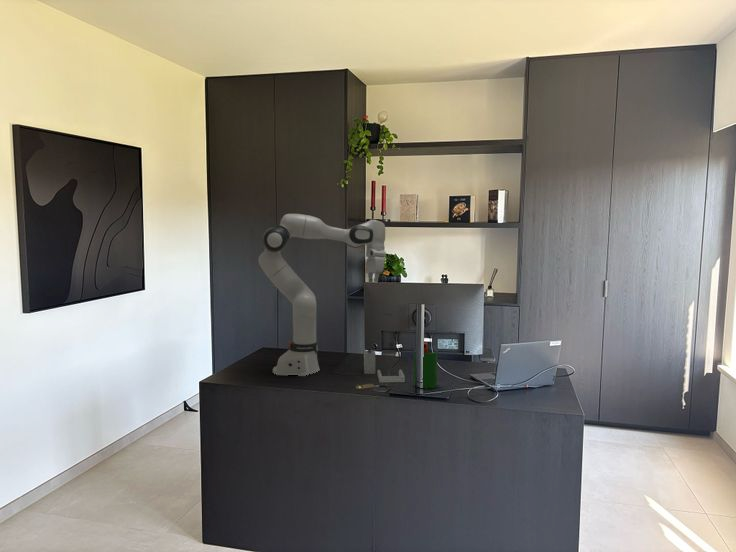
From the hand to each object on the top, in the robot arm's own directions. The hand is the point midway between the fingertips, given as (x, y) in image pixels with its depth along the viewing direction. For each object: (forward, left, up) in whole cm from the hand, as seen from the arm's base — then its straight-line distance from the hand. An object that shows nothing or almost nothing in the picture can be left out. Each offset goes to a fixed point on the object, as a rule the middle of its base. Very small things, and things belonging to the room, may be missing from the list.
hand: (373, 282), depth 254 cm
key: (-6, -27, -43) cm, 51 cm away
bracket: (+7, -15, -43) cm, 46 cm away
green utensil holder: (+21, -27, -43) cm, 55 cm away
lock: (-2, -5, -43) cm, 43 cm away
